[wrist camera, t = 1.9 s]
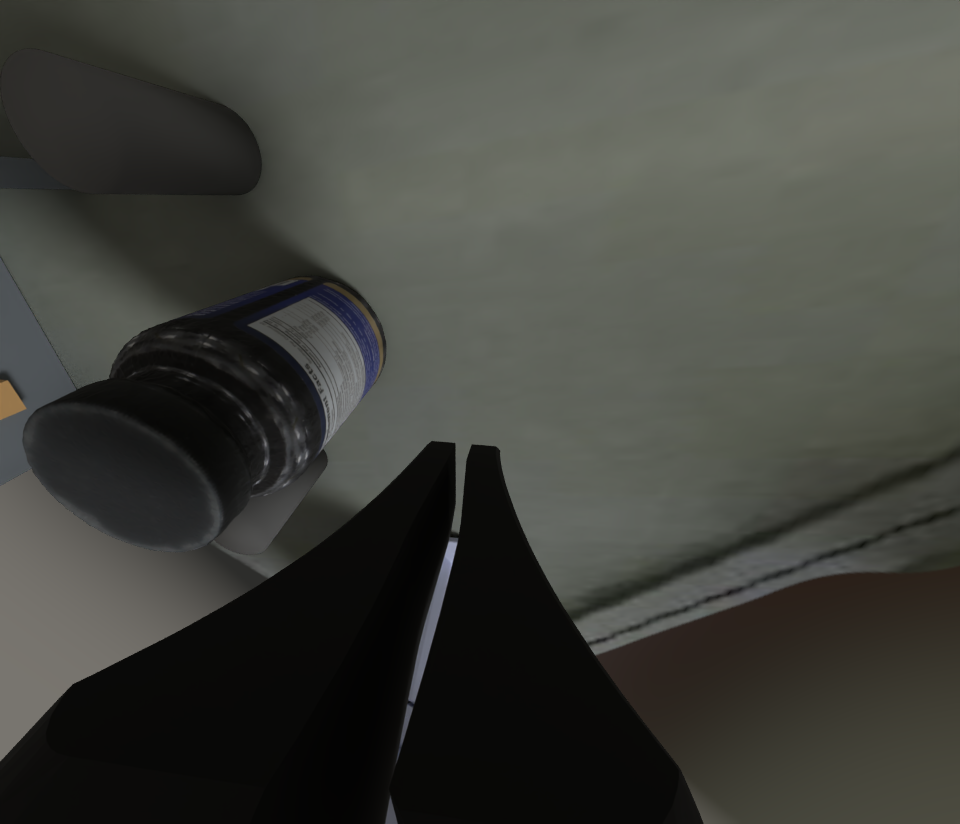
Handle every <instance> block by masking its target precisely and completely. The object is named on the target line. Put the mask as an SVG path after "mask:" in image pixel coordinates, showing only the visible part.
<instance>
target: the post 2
mask: <svg viewBox="0 0 960 824" xmlns="http://www.w3.org/2000/svg"><path fill="white" fill-rule="evenodd" d="M327 463H328V459H327V455H326V453H325V451H324V449H322V450H321V451H320V453H319V454H318V455H317V457H316V458H315V459H314V460H313V462H312V463H311V464H310V466H309V467H308V468H307V470H306V471H305V472H304V473H303V475H301V476H300V477H299V478H298V479H297V480H296V481H295V482H293V483H292V484H290V485H288V486H286V487H285V488H283V489H282V490H279V491H276V492H274V493H271V494H268V495H265V496H261V497H253V498H250V499H249V502H248V503H247V506H246V507H245V508H244V510H243V511H242V512H241V513H240V514H239V515H238V516H237V517H235V518H234V519H233V520H232V522H231V523H230V524H229V525H228V527H227V528H226V529H225V530H224V531H223V532H222V533H221V534H220V535H219V536H218V537H217V538H215V539H214V540H215V541H216V542H217V543H218V544H220V545H221V546H223V547H224V548H226V549H228V550H230V551H233V552H236V553H239V554H245V555H256V554H260V553H262V552H263V551H265V550H266V549H267V547H268V546H269V545H270V543H271V542H272V540H273V539H274V538H275V536H276V535H277V534H278V532H279V531H280V530H281V528H282V527H283V525H284V524H285V523H286V521H287V520H288V519H289V517H290V516H291V515H292V513H293V512H294V510H295V509H296V508H297V506H298V505H299V504H300V502H301V501H302V500H303V498H304V497H305V495H306V494H307V493H308V491H309V490H310V489H311V487H312V486H313V485H314V483H315V482H316V480H317V479H318V478H319V476H320V475H321V474H322V472H323V471H324V470H325V468H326V466H327Z"/></svg>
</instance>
